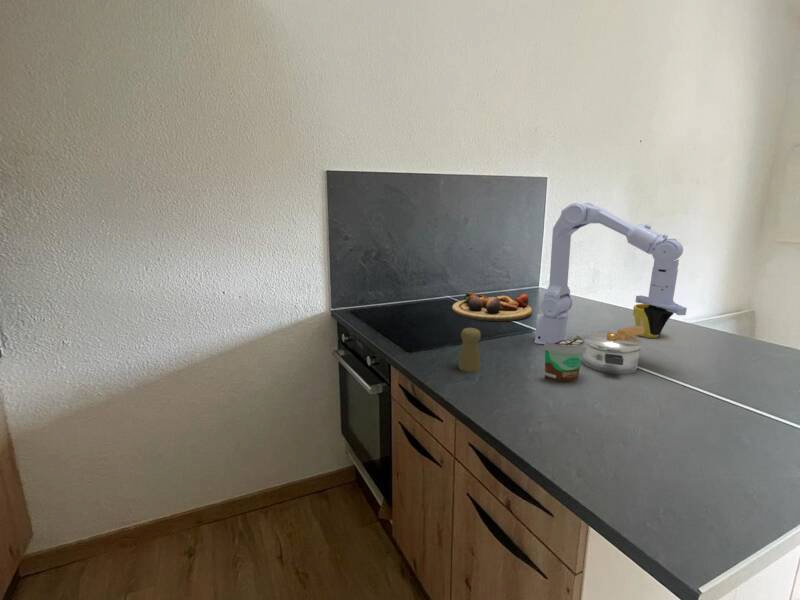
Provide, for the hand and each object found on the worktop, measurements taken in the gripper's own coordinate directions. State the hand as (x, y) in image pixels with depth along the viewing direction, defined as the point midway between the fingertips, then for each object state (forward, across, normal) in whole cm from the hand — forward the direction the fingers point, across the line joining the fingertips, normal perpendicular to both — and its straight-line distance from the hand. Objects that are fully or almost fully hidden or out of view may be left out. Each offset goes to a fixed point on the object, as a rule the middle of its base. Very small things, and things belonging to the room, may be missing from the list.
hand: (655, 334), depth 117 cm
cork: (+9, +11, +50) cm, 52 cm away
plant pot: (+10, +23, -21) cm, 33 cm away
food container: (+10, -2, +28) cm, 30 cm away
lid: (+3, +5, +8) cm, 9 cm away
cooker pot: (+9, +4, +10) cm, 14 cm away
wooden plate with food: (+10, +64, +16) cm, 67 cm away
